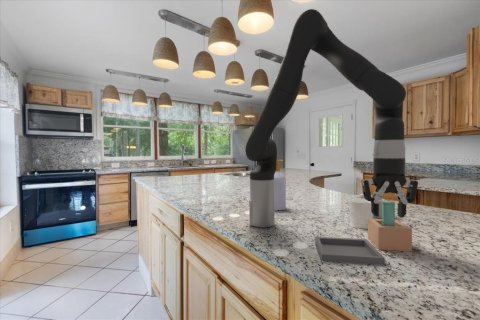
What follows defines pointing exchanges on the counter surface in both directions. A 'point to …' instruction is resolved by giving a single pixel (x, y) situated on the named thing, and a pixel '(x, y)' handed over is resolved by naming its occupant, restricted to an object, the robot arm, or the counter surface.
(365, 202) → the white cup
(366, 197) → the robot arm
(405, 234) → the pot
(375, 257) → the tray
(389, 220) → the dowel
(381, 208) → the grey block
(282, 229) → the counter surface
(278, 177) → the soap bottle
